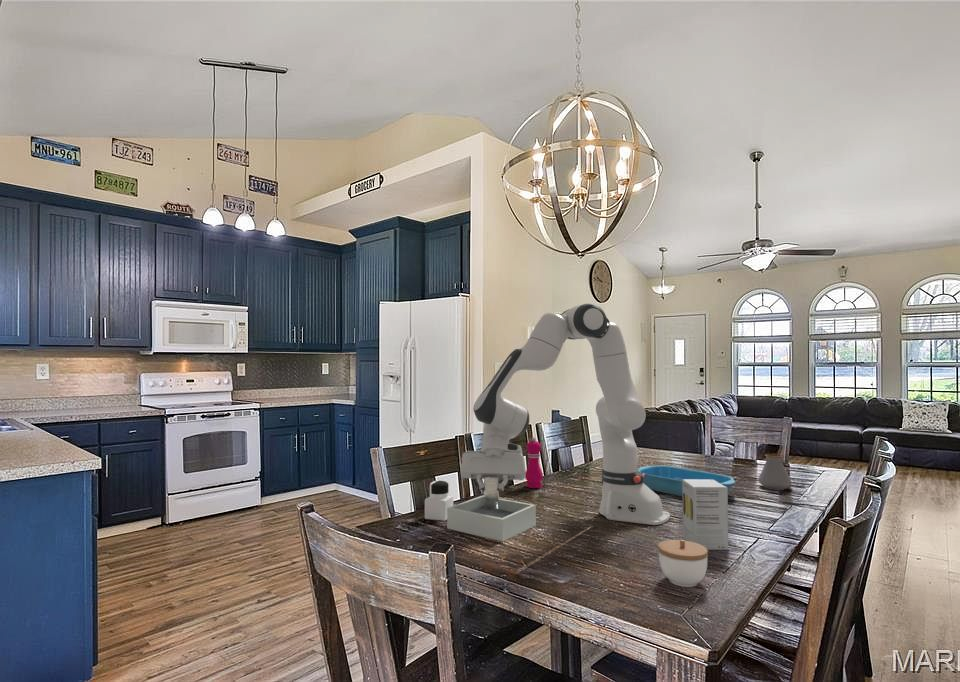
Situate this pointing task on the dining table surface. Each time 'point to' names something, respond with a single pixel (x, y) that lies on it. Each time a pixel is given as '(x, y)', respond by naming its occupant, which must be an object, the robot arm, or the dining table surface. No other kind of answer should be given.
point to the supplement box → (705, 513)
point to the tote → (491, 519)
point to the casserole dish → (677, 478)
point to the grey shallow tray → (493, 512)
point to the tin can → (491, 492)
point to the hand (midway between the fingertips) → (491, 489)
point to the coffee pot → (774, 472)
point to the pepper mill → (534, 465)
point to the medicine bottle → (438, 501)
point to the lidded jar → (683, 562)
